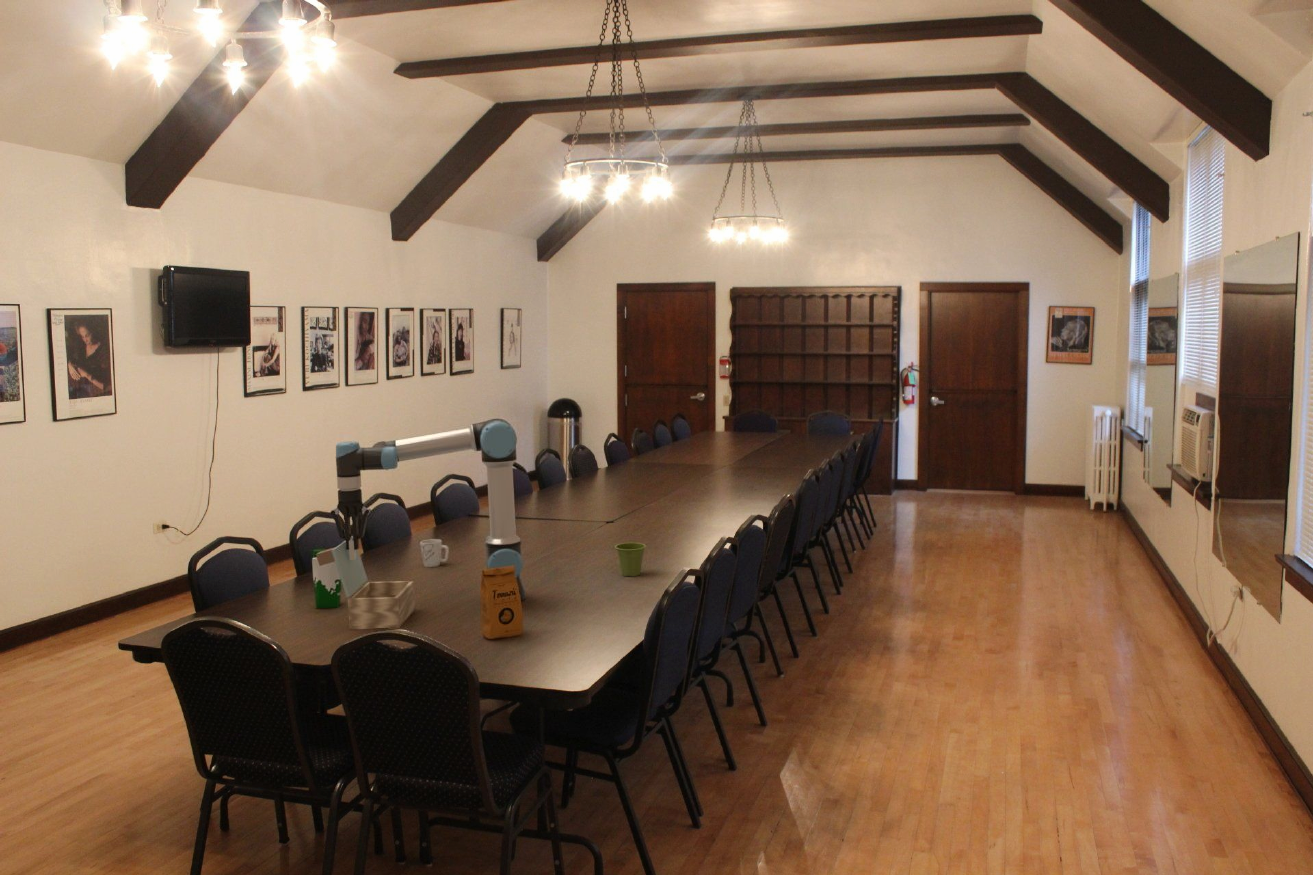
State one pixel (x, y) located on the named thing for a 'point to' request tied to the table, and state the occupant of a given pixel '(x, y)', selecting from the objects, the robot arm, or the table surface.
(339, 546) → the lid
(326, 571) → the milk carton
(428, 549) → the mug
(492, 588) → the coffee package
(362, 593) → the box
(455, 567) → the table surface
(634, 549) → the plant pot
